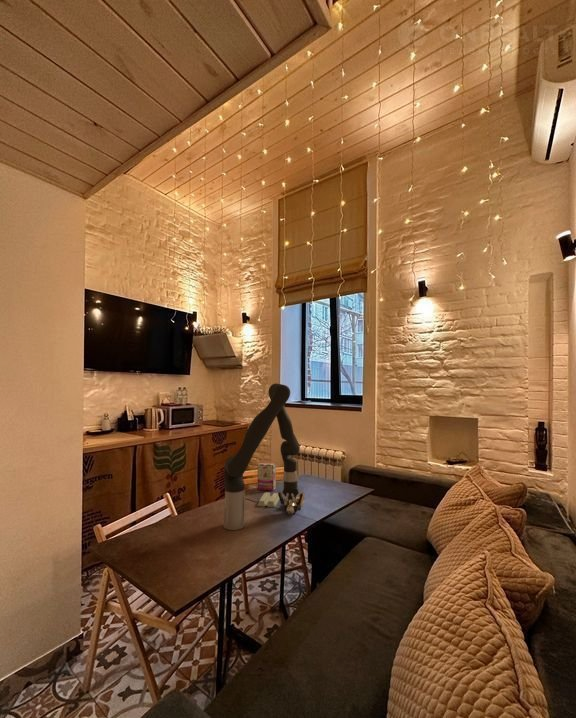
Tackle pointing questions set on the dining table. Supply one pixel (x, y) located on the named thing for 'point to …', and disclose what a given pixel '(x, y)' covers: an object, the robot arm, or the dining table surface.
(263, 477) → the candy bar box
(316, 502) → the dining table surface
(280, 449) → the robot arm
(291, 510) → the steel axle
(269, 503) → the axle cradle
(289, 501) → the bore block
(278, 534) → the dining table surface
